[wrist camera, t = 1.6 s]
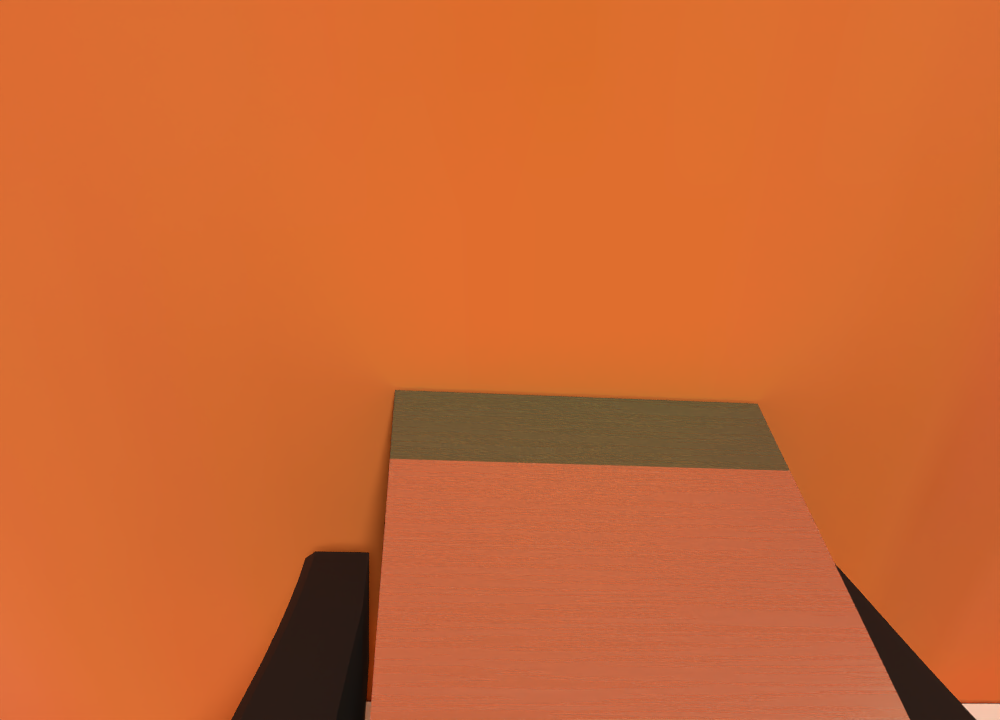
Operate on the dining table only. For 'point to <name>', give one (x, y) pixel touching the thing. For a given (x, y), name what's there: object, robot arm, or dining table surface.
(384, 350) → the dining table surface
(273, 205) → the dining table surface
